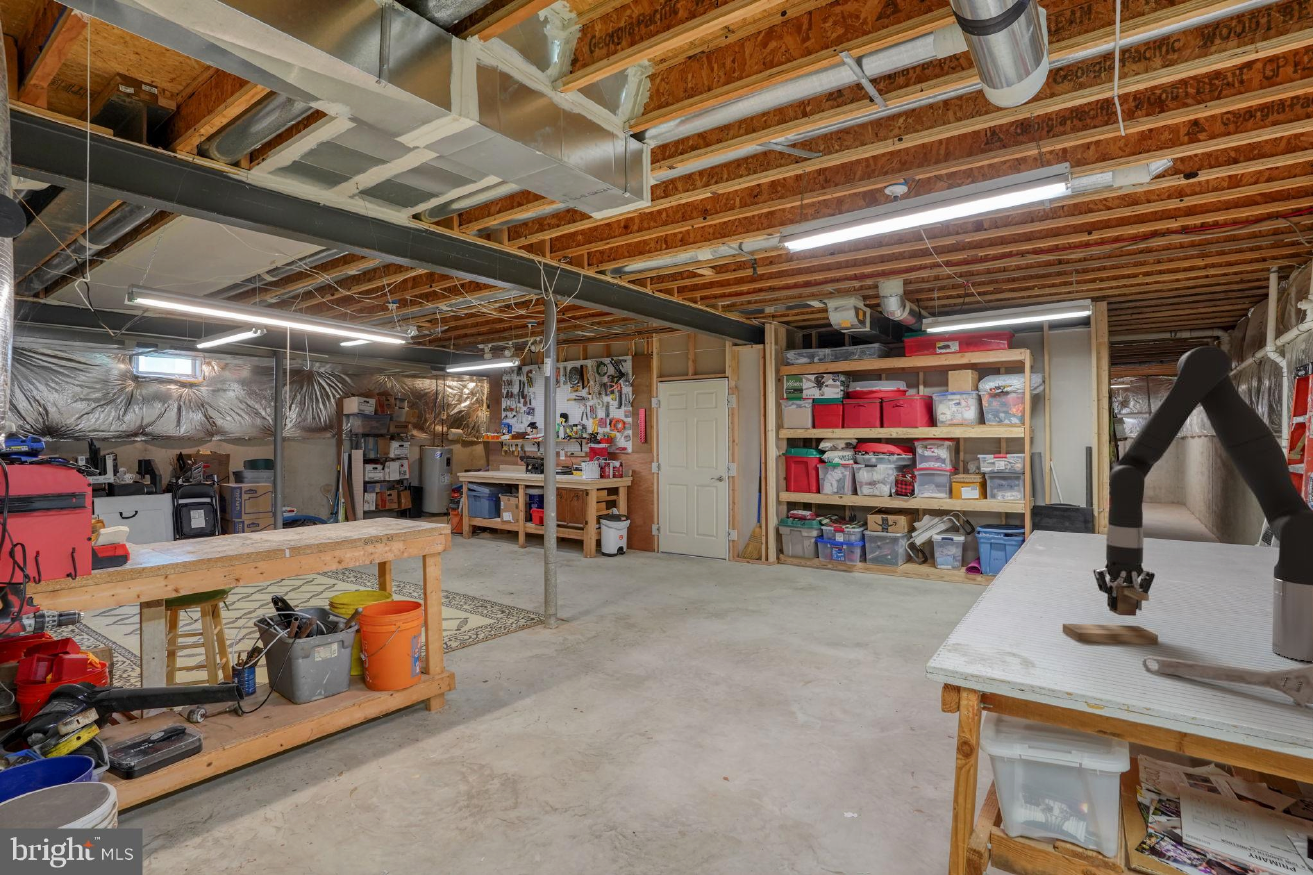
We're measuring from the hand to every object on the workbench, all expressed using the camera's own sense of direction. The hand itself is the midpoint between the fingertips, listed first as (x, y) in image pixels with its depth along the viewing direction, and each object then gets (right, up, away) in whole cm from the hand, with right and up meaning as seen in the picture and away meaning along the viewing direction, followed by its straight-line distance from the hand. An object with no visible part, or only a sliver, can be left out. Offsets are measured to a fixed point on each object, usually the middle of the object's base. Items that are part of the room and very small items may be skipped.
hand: (1122, 610), depth 160 cm
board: (-7, -5, -5) cm, 11 cm away
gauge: (0, -1, -3) cm, 3 cm away
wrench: (-4, -6, -35) cm, 36 cm away
